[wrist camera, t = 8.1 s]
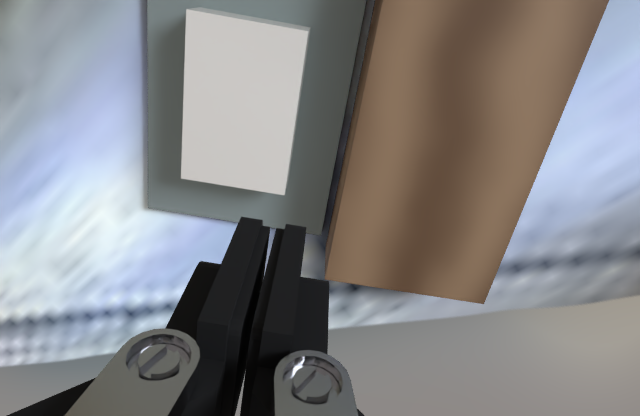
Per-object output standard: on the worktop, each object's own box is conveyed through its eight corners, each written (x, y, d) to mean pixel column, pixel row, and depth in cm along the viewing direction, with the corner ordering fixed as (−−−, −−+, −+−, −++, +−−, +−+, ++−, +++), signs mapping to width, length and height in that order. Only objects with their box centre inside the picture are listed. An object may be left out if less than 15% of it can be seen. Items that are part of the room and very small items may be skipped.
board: (572, -16, 23) (616, -17, 20) (466, 267, 31) (483, 304, 28) (385, -52, 23) (395, -60, 19) (325, 245, 31) (324, 279, 27)
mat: (371, -32, 23) (372, -33, 23) (321, 232, 30) (320, 235, 30) (150, -74, 23) (147, -75, 22) (150, 204, 30) (148, 208, 29)
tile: (186, 9, 22) (200, 7, 24) (180, 178, 26) (193, 163, 28) (308, 31, 22) (310, 27, 24) (284, 195, 26) (288, 178, 28)
